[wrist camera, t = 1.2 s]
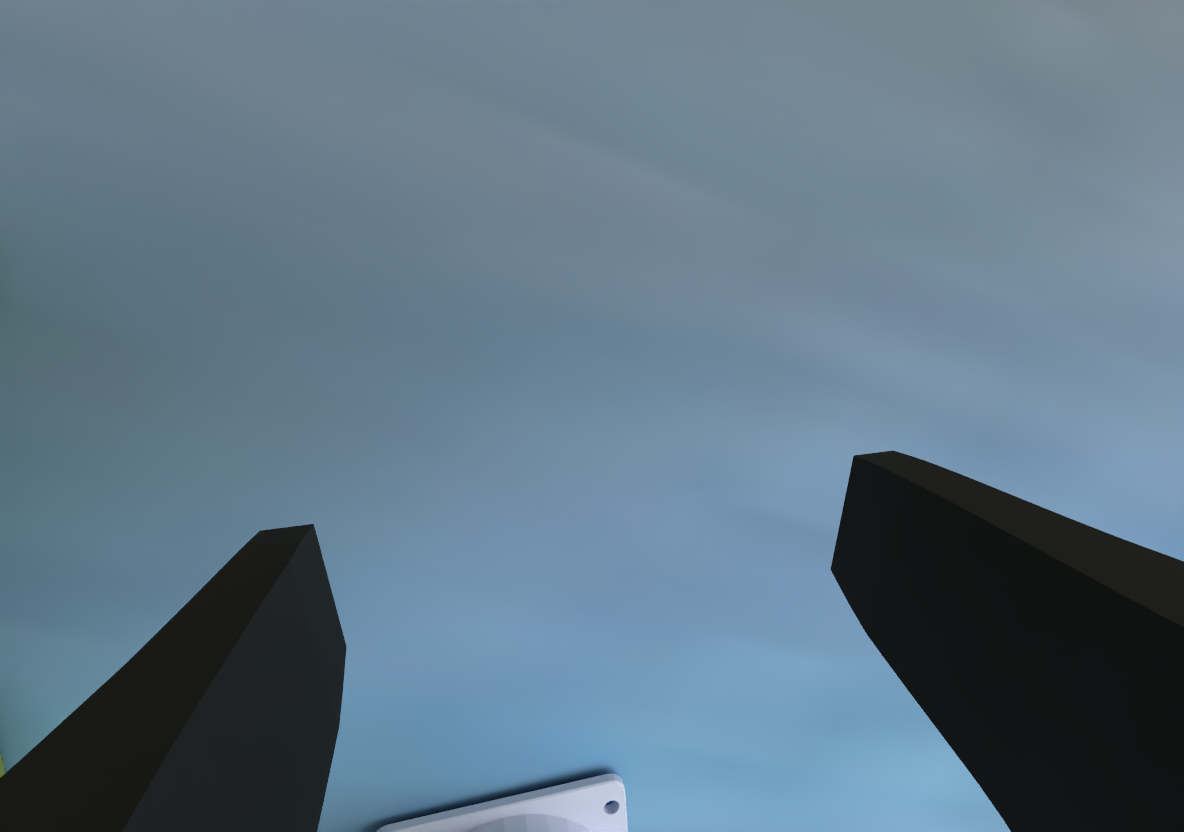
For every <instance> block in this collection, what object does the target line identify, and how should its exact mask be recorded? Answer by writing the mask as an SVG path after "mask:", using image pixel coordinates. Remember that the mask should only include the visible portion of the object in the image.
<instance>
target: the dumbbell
mask: <svg viewBox="0 0 1184 832" xmlns="http://www.w3.org/2000/svg"><path fill="white" fill-rule="evenodd" d="M4 774H5V770H4V764H3V759H2V756H1V753H0V778H1V777H2V776H3V775H4Z"/></svg>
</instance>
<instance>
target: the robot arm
mask: <svg viewBox="0 0 1184 832" xmlns="http://www.w3.org/2000/svg"><path fill="white" fill-rule="evenodd" d="M831 571H832V573H833V575H834V577H835V578H836V580H837V582H838V584H839V586H840V588H841V590H842V592H843V593H844V595H845V597H846V599H847V601H848V603H849V605H850V606H851V608H852V610H853V611H854V613H855V615H856V617H857V618H858V620H859V622H860V623H861V625H862V627H863V629H864V630H865V632H866V633H867V635H868V636H869V638H870V639H871V640H872V642H873V643H874V645H875V646H876V647H877V649H878V650H879V651H880V653H881V654H882V656H883V657H884V658H885V660H886V661H887V662H888V664H889V665H890V666H891V668H892V669H893V670H894V672H895V673H896V674H897V676H898V677H899V679H900V680H901V681H902V683H903V684H904V685H905V687H906V688H907V689H908V691H909V692H910V693H911V695H912V696H913V697H914V699H915V700H916V701H917V703H918V704H919V705H920V707H921V708H922V709H923V711H924V712H925V713H926V715H927V716H928V717H929V718H930V720H931V721H932V722H933V724H934V725H935V726H936V728H937V729H938V730H939V732H940V733H941V734H942V736H943V737H944V738H945V740H946V741H947V742H948V744H949V745H950V746H951V748H952V749H953V750H954V752H955V753H956V754H957V756H958V757H959V758H960V760H961V761H962V762H963V764H964V765H965V766H966V768H967V769H968V770H969V772H970V773H971V774H972V776H973V777H974V778H975V780H976V781H977V782H978V784H979V785H980V787H981V788H982V790H983V791H984V792H985V794H986V795H987V797H988V798H989V800H990V801H991V802H992V804H993V805H994V807H995V808H996V810H997V811H998V812H999V814H1000V815H1001V817H1002V818H1003V820H1004V821H1005V823H1006V824H1007V826H1008V828H1009V829H1010V831H1011V832H1184V562H1183V561H1181V560H1178V559H1175V558H1172V557H1170V556H1167V555H1164V554H1162V553H1159V552H1156V551H1153V550H1151V549H1148V548H1145V547H1142V546H1140V545H1137V544H1134V543H1131V542H1129V541H1126V540H1123V539H1121V538H1118V537H1116V536H1113V535H1110V534H1108V533H1105V532H1103V531H1100V530H1098V529H1095V528H1092V527H1090V526H1087V525H1085V524H1082V523H1080V522H1077V521H1075V520H1072V519H1070V518H1067V517H1065V516H1062V515H1060V514H1057V513H1055V512H1052V511H1050V510H1047V509H1045V508H1042V507H1040V506H1037V505H1035V504H1032V503H1030V502H1027V501H1025V500H1022V499H1020V498H1018V497H1015V496H1013V495H1010V494H1008V493H1005V492H1003V491H1000V490H998V489H995V488H993V487H991V486H988V485H986V484H983V483H981V482H978V481H976V480H973V479H971V478H968V477H966V476H963V475H961V474H958V473H956V472H953V471H950V470H948V469H945V468H943V467H940V466H937V465H935V464H932V463H929V462H927V461H924V460H921V459H918V458H915V457H912V456H909V455H906V454H902V453H899V452H896V451H887V452H879V453H871V454H863V455H855V456H854V457H853V462H852V467H851V472H850V477H849V482H848V487H847V492H846V497H845V501H844V506H843V511H842V516H841V521H840V526H839V531H838V536H837V541H836V546H835V551H834V556H833V561H832V566H831ZM345 656H346V644H345V640H344V636H343V632H342V629H341V625H340V621H339V617H338V614H337V610H336V606H335V602H334V599H333V595H332V591H331V588H330V584H329V580H328V576H327V573H326V569H325V565H324V561H323V558H322V554H321V550H320V546H319V543H318V539H317V535H316V531H315V528H314V524H310V525H302V526H294V527H286V528H279V529H271V530H263V531H259V532H258V533H257V534H256V535H255V536H254V537H253V538H252V539H251V540H250V541H249V542H248V543H247V544H246V545H245V546H244V547H243V548H241V549H240V550H239V551H238V552H237V553H236V554H235V555H234V556H233V557H232V558H231V559H230V560H229V561H228V562H227V564H226V565H225V566H224V567H223V568H222V569H221V570H220V571H219V572H218V573H217V574H216V575H215V576H214V577H213V578H212V579H211V580H210V581H209V582H208V583H207V584H206V585H205V586H204V587H203V588H202V589H201V590H200V591H199V592H198V593H197V594H196V595H195V596H194V597H193V598H192V599H191V600H190V601H189V602H188V603H187V604H186V605H185V606H184V607H183V608H182V609H181V610H180V611H179V612H178V613H177V614H176V615H175V616H174V617H173V618H172V619H171V620H170V621H169V622H168V623H167V624H166V625H165V626H164V627H163V628H162V629H161V630H160V631H159V632H158V633H157V634H156V635H155V636H154V637H153V638H152V639H150V640H149V641H148V642H147V643H146V644H145V645H144V646H143V647H142V648H141V649H140V650H139V651H138V652H137V653H136V654H135V655H134V656H133V657H132V658H131V659H130V660H129V661H128V662H127V663H126V664H125V665H124V666H123V667H122V668H121V669H120V670H119V671H118V672H116V673H115V674H114V675H113V676H112V677H111V678H110V679H109V680H108V681H107V682H106V683H104V684H103V685H102V686H101V687H100V688H99V689H98V690H97V691H96V692H95V693H94V694H92V695H91V696H90V697H89V698H88V699H87V700H86V701H85V702H84V703H83V704H81V705H80V706H79V707H78V708H77V709H76V710H75V711H74V712H73V713H72V714H71V715H69V716H68V717H67V718H66V719H65V720H64V721H63V722H62V723H61V724H60V725H58V726H57V727H56V728H55V729H54V730H53V731H52V732H51V733H50V734H49V735H48V736H46V737H45V738H44V739H43V740H42V741H41V742H40V743H39V744H38V745H37V746H36V747H34V748H33V749H32V750H31V751H30V752H29V753H28V754H27V755H26V756H25V757H23V758H22V759H21V760H20V761H19V762H18V763H17V764H16V765H14V766H13V767H12V768H11V769H10V770H9V771H7V772H6V773H5V774H4V775H3V776H2V777H1V778H0V832H317V829H318V824H319V820H320V815H321V810H322V806H323V801H324V797H325V792H326V787H327V782H328V777H329V773H330V768H331V763H332V758H333V754H334V749H335V744H336V739H337V734H338V729H339V722H340V712H341V702H342V692H343V681H344V668H345ZM609 801H614V802H613V803H612V804H610V805H606V803H607V802H609ZM376 832H628V827H627V812H626V798H625V789H624V785H623V782H622V780H621V778H620V777H619V776H618V775H616V774H605V775H600V776H596V777H592V778H587V779H583V780H579V781H574V782H570V783H566V784H561V785H557V786H553V787H548V788H544V789H540V790H535V791H531V792H527V793H522V794H518V795H514V796H509V797H505V798H501V799H496V800H492V801H488V802H483V803H479V804H475V805H470V806H466V807H462V808H457V809H453V810H449V811H444V812H440V813H436V814H431V815H427V816H423V817H418V818H414V819H410V820H405V821H401V822H397V823H392V824H388V825H385V826H383V827H381V828H380V829H379V830H377V831H376Z"/></svg>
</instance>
